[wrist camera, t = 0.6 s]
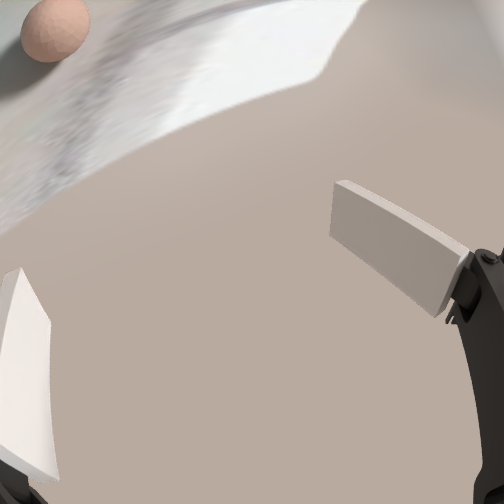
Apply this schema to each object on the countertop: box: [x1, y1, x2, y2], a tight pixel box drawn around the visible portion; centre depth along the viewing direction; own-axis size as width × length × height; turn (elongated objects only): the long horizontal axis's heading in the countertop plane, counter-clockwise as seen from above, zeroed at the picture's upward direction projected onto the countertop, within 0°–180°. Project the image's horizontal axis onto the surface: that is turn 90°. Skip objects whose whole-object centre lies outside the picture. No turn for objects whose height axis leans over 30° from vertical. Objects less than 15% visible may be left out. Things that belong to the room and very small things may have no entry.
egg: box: [20, 0, 90, 62], centre depth 16 cm, size 7×7×10 cm
